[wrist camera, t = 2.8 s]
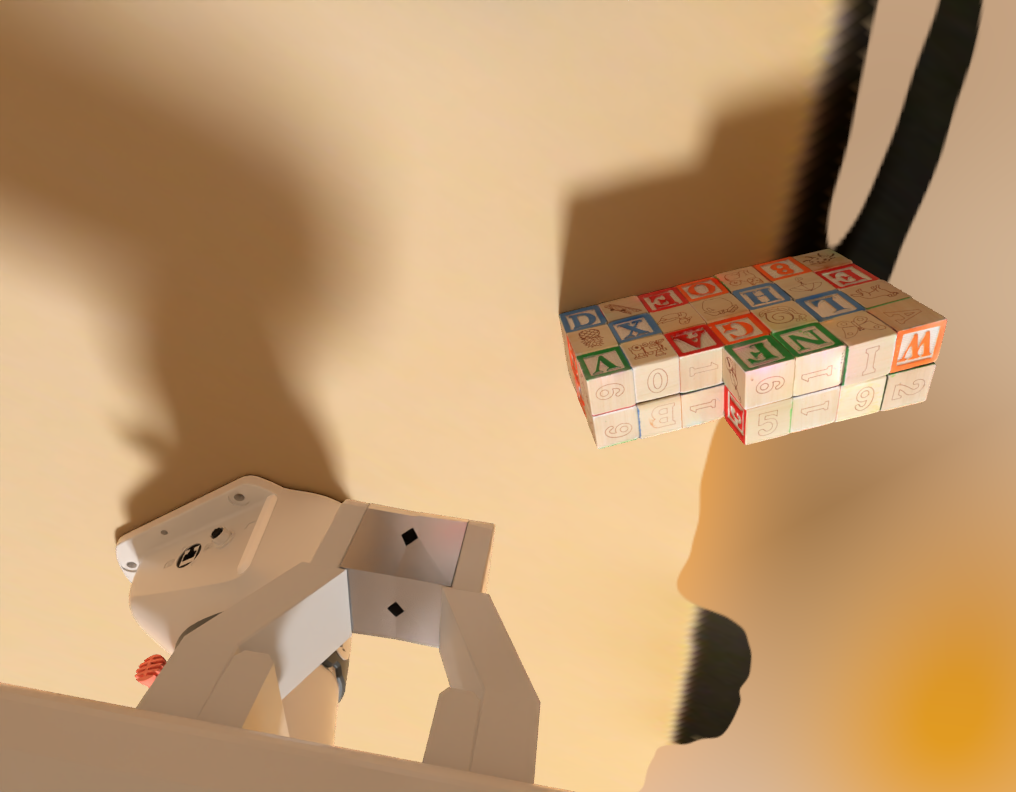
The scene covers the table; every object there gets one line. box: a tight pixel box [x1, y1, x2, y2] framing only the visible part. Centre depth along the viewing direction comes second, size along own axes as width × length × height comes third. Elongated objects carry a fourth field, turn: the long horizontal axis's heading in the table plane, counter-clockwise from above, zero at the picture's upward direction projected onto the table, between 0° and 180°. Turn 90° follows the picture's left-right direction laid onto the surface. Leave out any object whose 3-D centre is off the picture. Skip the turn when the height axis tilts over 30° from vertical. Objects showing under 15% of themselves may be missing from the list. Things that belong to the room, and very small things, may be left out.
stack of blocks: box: [559, 249, 947, 449], centre depth 41 cm, size 21×6×12 cm, turn 102°
